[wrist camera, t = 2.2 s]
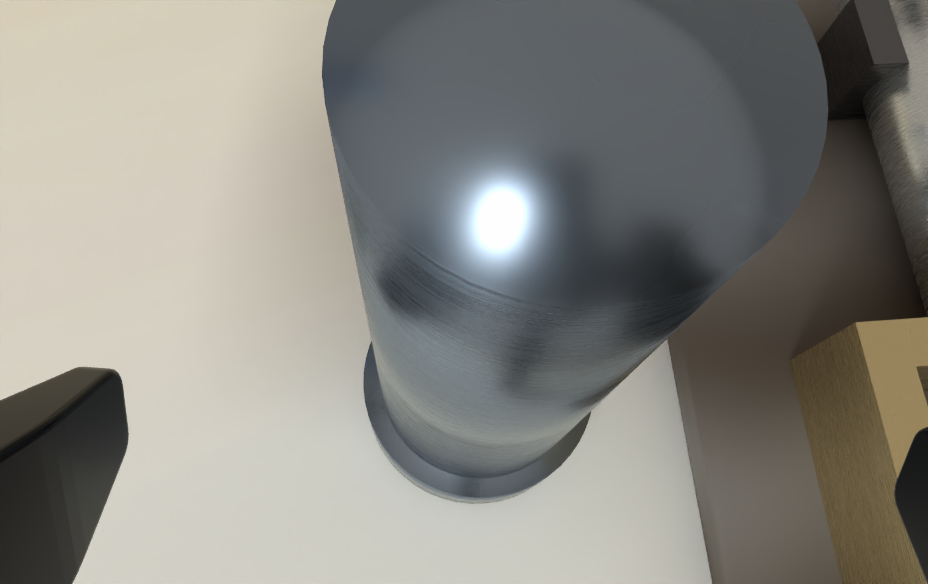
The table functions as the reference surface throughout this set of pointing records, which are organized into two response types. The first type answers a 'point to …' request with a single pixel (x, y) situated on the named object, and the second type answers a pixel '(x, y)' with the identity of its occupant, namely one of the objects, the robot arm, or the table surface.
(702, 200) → the steel coupler
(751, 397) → the shaft board
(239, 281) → the table surface
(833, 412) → the socket
